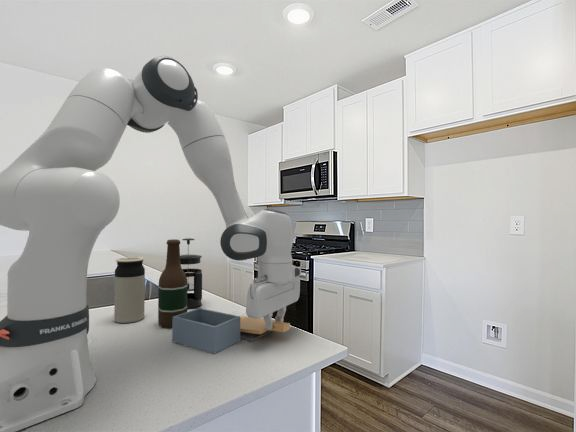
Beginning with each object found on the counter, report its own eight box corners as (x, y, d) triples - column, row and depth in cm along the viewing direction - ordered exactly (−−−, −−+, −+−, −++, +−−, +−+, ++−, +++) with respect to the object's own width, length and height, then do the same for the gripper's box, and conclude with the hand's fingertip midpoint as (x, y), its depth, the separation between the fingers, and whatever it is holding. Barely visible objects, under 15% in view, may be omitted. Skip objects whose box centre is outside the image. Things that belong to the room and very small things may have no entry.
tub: (214, 354, 72) (215, 327, 72) (172, 341, 79) (172, 316, 79) (240, 340, 80) (240, 316, 80) (199, 330, 87) (199, 307, 87)
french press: (166, 306, 109) (166, 238, 109) (189, 300, 117) (190, 237, 116) (187, 312, 102) (188, 240, 102) (211, 305, 110) (211, 238, 110)
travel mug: (144, 321, 93) (145, 259, 93) (113, 325, 90) (114, 261, 90) (144, 313, 100) (144, 256, 100) (115, 317, 97) (115, 257, 97)
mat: (252, 341, 79) (252, 340, 79) (210, 331, 86) (210, 329, 86) (276, 328, 88) (276, 327, 88) (236, 319, 95) (236, 318, 95)
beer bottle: (152, 325, 90) (152, 240, 90) (173, 317, 97) (174, 238, 96) (171, 330, 86) (172, 241, 86) (192, 322, 93) (193, 239, 93)
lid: (276, 338, 76) (276, 330, 76) (216, 329, 86) (216, 323, 86) (296, 326, 84) (296, 319, 84) (239, 320, 94) (239, 313, 94)
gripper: (262, 281, 72) (261, 342, 72) (304, 268, 89) (303, 317, 89) (239, 278, 75) (239, 337, 75) (284, 266, 92) (284, 314, 93)
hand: (274, 326), depth 82 cm, fingers closed on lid, 3 cm apart
